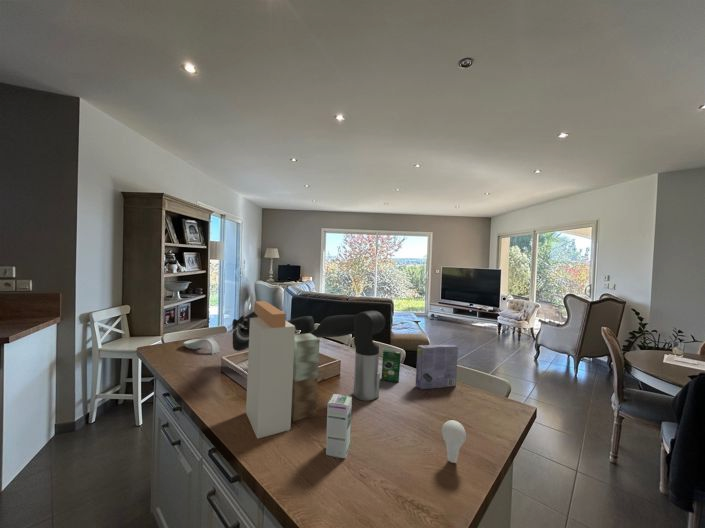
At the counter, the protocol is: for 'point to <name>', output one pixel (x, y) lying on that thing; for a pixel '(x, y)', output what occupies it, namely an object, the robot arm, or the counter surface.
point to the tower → (305, 376)
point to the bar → (270, 314)
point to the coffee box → (391, 365)
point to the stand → (270, 377)
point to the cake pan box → (436, 366)
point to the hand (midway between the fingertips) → (254, 317)
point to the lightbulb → (453, 438)
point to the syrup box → (338, 425)
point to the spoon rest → (202, 344)
